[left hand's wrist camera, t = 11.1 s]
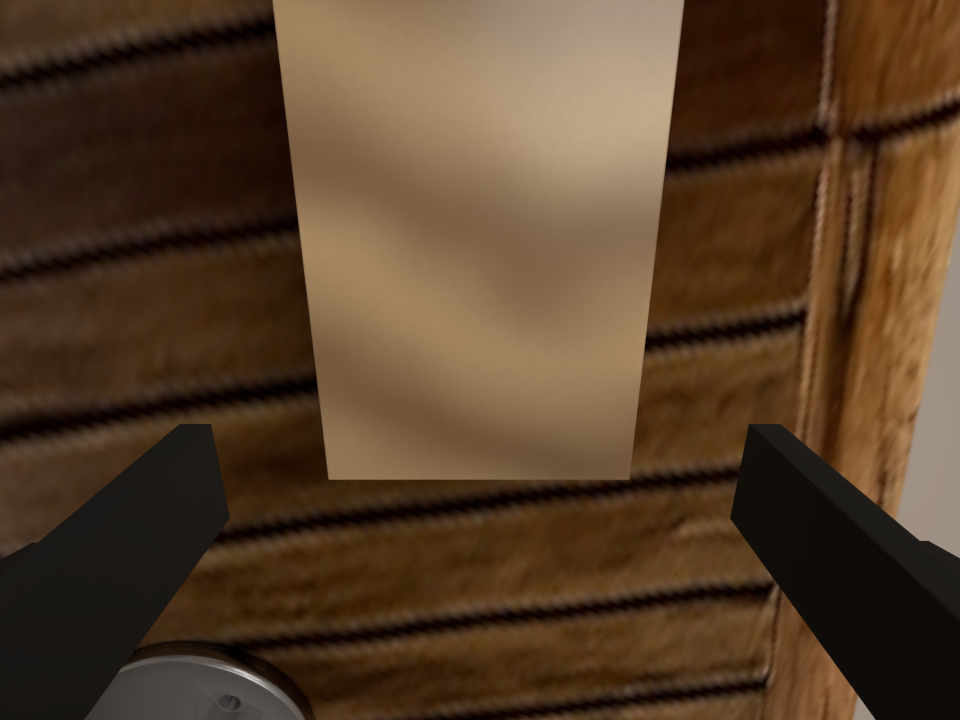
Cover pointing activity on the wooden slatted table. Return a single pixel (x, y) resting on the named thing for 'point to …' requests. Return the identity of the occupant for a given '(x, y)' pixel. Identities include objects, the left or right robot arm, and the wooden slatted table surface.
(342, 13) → the cabinet
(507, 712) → the wooden slatted table surface
